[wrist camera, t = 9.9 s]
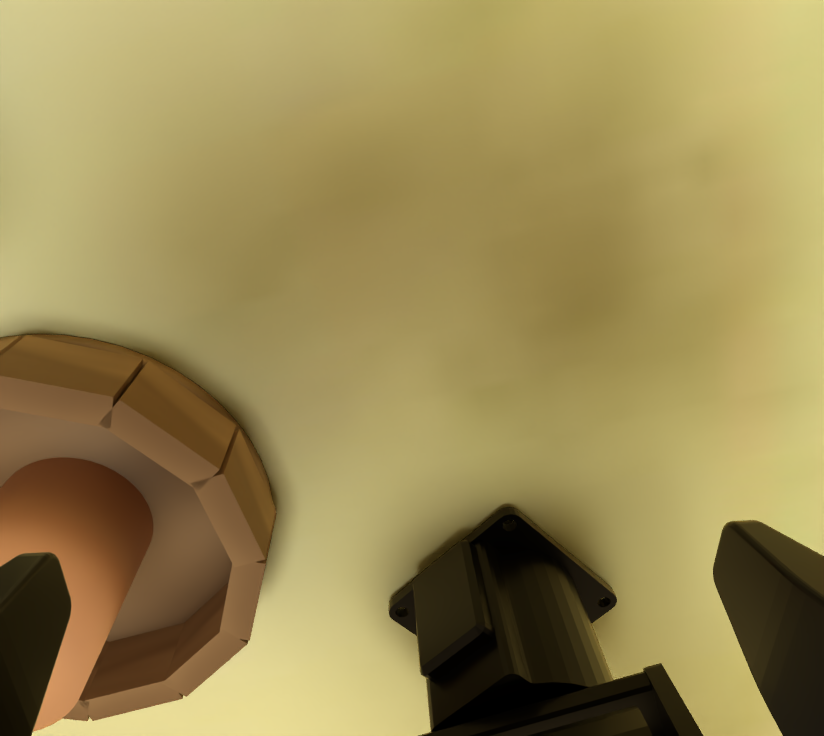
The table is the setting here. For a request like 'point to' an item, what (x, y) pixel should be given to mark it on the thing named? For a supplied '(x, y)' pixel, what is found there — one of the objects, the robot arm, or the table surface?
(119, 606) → the cylinder
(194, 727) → the table surface
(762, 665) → the robot arm
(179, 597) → the round tray
